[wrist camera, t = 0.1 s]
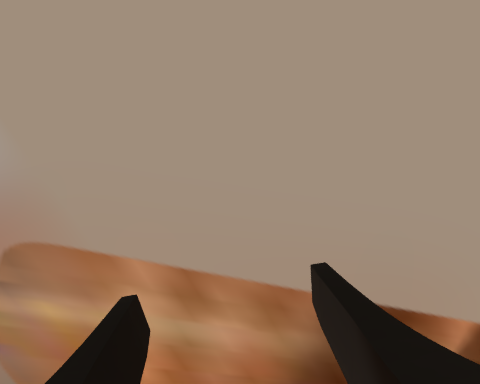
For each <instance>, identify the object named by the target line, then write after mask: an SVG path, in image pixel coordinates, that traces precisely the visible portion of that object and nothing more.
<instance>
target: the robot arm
mask: <svg viewBox="0 0 480 384" xmlns="http://www.w3.org/2000/svg"><path fill="white" fill-rule="evenodd" d="M311 283H312V302H313V305H314V308H315V311H316V314H317V317H318V320H319V323H320V326H321V328H322V330H323V332H324V334H325V336H326V339H327V341H328V343H329V345H330V347H331V349H332V351H333V353H334V355H335V358H336V360H337V362H338V364H339V366H340V368H341V370H342V372H343V374H344V376H345V379H346V381H347V383H348V384H480V365H479V364H477V363H475V362H473V361H471V360H469V359H466V358H464V357H462V356H460V355H458V354H456V353H454V352H452V351H450V350H449V349H447V348H445V347H443V346H441V345H439V344H438V343H436V342H434V341H432V340H430V339H428V338H427V337H425V336H423V335H421V334H420V333H418V332H416V331H415V330H413V329H411V328H410V327H408V326H407V325H405V324H403V323H402V322H400V321H399V320H397V319H396V318H394V317H393V316H391V315H390V314H388V313H387V312H386V311H384V310H383V309H381V308H380V307H379V306H377V305H376V304H375V303H373V302H372V301H371V300H369V299H368V298H367V297H365V296H364V295H363V294H362V293H361V292H359V291H358V290H357V289H356V288H354V287H353V286H352V285H351V284H349V283H348V282H347V281H346V280H345V279H344V278H342V277H341V276H340V275H339V274H338V273H337V272H336V271H335V270H333V269H332V268H331V267H330V266H329V265H328V264H327V263H325V262H324V263H319V264H313V265H311ZM149 337H150V328H149V326H148V323H147V320H146V318H145V315H144V312H143V310H142V307H141V304H140V302H139V299H138V296H137V295H131V296H125V297H122V298H121V299H120V300H119V301H118V302H117V303H116V304H115V306H114V307H113V308H112V309H111V310H110V312H109V313H108V314H107V315H106V317H105V318H104V319H103V320H102V321H101V323H100V324H99V325H98V326H97V327H96V328H95V330H94V331H93V332H92V333H91V334H90V335H89V337H88V338H87V339H86V340H85V341H84V342H83V344H82V345H81V346H80V347H79V348H78V349H77V350H76V351H75V352H74V353H73V355H72V356H71V357H70V358H69V359H68V360H67V361H66V362H65V363H64V364H63V365H62V367H61V368H60V369H59V370H58V371H57V372H56V373H55V374H54V375H53V376H52V377H51V378H50V379H49V380H48V381H47V382H46V383H45V384H140V382H141V378H142V374H143V370H144V366H145V362H146V358H147V352H148V345H149Z"/></svg>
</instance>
